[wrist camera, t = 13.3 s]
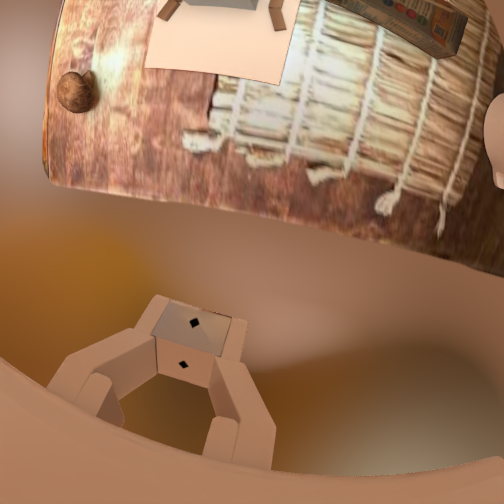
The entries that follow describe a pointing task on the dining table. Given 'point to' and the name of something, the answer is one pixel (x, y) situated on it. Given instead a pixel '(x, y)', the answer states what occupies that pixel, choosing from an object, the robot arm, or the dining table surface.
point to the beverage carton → (416, 22)
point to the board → (223, 41)
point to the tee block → (226, 3)
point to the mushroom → (76, 92)
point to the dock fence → (274, 9)
